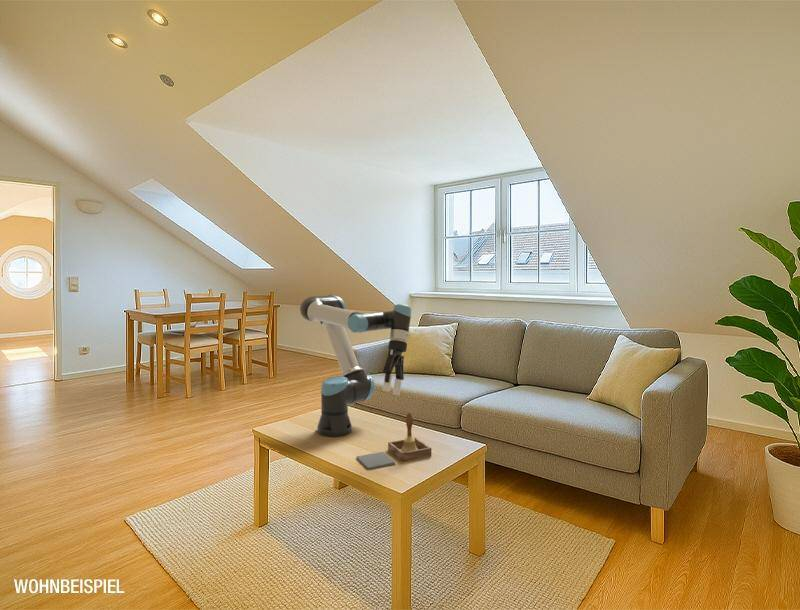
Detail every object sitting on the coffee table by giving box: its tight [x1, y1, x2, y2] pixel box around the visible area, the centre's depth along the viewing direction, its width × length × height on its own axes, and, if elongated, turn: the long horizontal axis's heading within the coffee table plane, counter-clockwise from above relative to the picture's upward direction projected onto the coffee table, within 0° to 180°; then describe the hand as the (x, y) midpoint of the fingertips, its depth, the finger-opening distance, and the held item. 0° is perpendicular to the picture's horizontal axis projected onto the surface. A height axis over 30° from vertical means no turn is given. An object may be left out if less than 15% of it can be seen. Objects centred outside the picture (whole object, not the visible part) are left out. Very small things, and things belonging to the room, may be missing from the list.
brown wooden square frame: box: [387, 437, 432, 462], centre depth 186 cm, size 13×13×3 cm
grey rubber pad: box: [356, 451, 396, 470], centre depth 177 cm, size 11×11×1 cm
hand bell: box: [399, 412, 419, 452], centre depth 185 cm, size 8×8×16 cm
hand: (391, 393), depth 189 cm, fingers open, 13 cm apart
